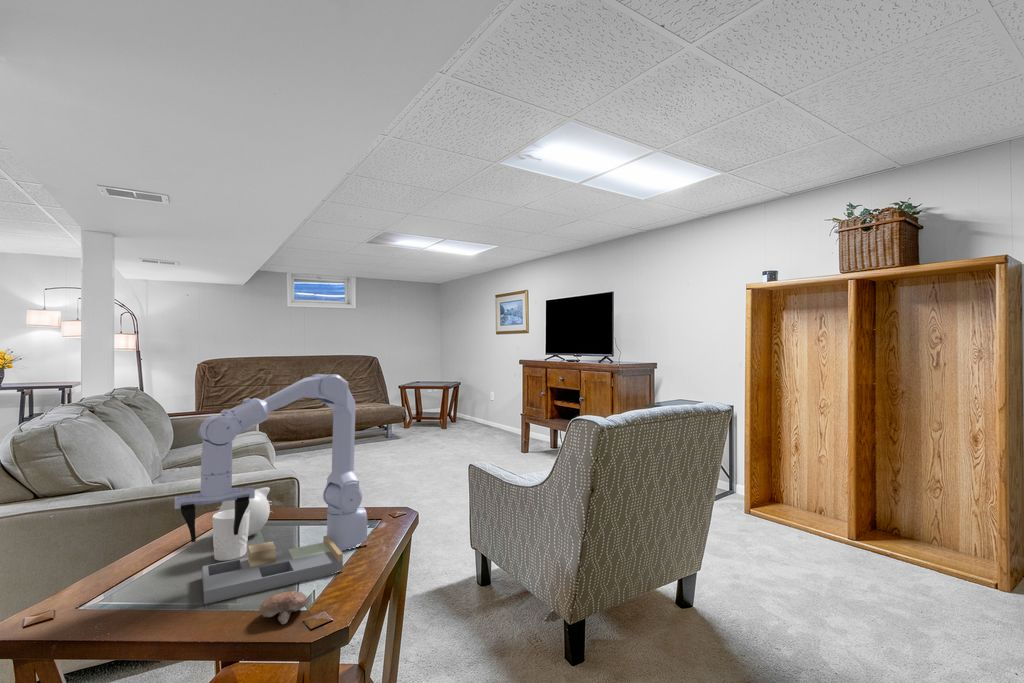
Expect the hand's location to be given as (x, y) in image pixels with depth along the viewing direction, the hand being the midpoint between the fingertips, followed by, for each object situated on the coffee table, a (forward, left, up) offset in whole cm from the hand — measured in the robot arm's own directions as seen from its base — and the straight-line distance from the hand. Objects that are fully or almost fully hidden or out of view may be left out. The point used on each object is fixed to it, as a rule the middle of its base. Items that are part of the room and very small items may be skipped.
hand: (215, 537), depth 103 cm
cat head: (-8, -28, -10) cm, 31 cm away
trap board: (-11, +3, -9) cm, 15 cm away
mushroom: (-10, +23, -10) cm, 27 cm away
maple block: (-9, 0, -7) cm, 11 cm away
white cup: (-4, -15, -10) cm, 18 cm away
